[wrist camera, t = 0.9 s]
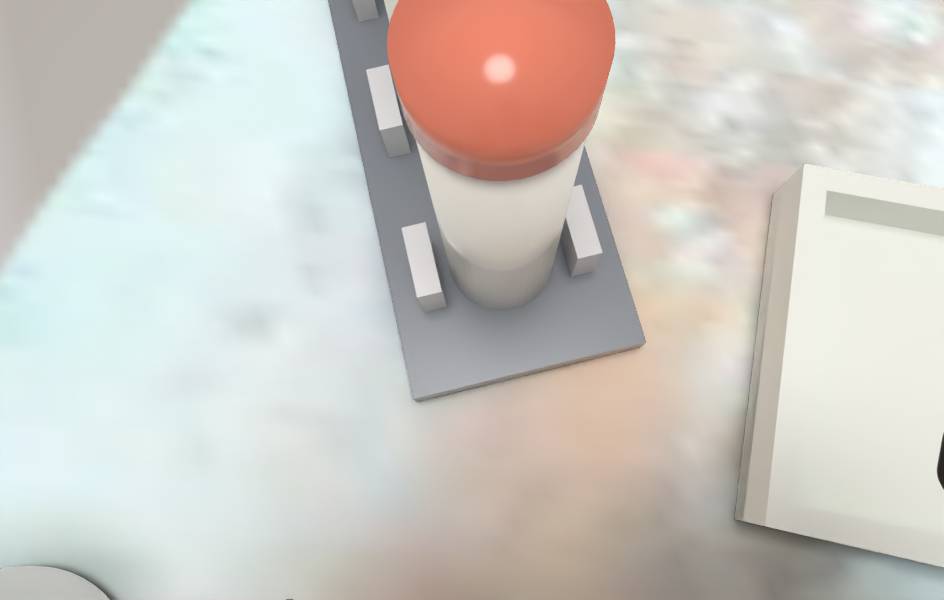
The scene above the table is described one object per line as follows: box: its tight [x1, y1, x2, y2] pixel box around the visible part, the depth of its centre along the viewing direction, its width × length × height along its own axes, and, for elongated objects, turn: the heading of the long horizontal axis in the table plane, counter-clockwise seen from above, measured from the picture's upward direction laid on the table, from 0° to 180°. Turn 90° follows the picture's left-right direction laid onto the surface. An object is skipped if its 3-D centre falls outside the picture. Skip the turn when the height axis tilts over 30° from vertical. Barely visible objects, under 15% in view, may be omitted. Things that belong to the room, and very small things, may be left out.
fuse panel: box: [328, 0, 646, 402], centre depth 18 cm, size 19×8×13 cm, turn 13°
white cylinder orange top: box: [387, 0, 615, 310], centre depth 16 cm, size 4×4×12 cm
